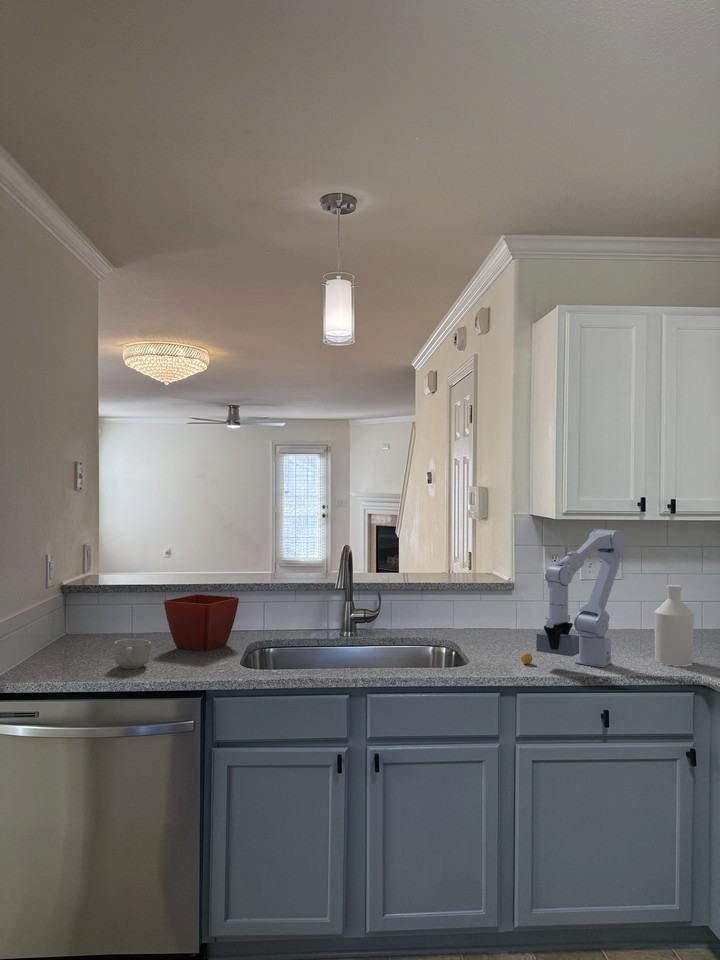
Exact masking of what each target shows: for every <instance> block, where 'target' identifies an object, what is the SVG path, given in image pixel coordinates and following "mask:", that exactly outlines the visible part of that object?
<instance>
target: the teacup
mask: <svg viewBox="0 0 720 960" xmlns="http://www.w3.org/2000/svg"><path fill="white" fill-rule="evenodd" d="M151 644H152V643H151V641H150V640H148V639H141V638H124V639H123V638H122V639H118V640H116V641H114V653H113V654H114V657H113V659H114V661H115V663H116V664H117V665H118V666H119V668H122V669H125V670H126V669H127V670H128V669H129V670H130V669H131V670H134V669H140V667H141V668H142V667H144V665H146V664H147V663H148V662H149V659H150V652H151Z"/></svg>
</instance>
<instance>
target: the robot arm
mask: <svg viewBox="0 0 720 960" xmlns="http://www.w3.org/2000/svg"><path fill="white" fill-rule="evenodd" d="M588 535H589V536H588V538H587V539H586V541H585V542H584V543H583V544H582V545H581V546H580V547H579V548H578V549H577V550H576V551H568V552H567V553H566V556H565V557H563V558H562V559H561V560H559V561H558V562H557V563H556V564H552V565H550V566H549V567H548V568H547V569H546V572H545V574H544V578H545V580H546V581H547V587H548V588H547V589H548V590H549V591H548V597H549V598H548V599H549V600H548V616H545V620H546V622H545V623H546V624H545V625H544V626H543V629H544V630H543V631H545V632H546V634H547V636H548V639H549V644H550V648H551V649H554V650H558V647H559V639H560V635H561V634H569V635H570V631H571V629H572V628H573V627H574V629H575V631H577V635H578V636H579V654H578V655H579V657H578V659H577V660H575V661H574V664H578V665H579V664H580V665H585V666H590V667H591V666H592V667H598V668H605V667H607V666H608V665H610V664H612V642H611V639H610V638H609V637H606V634H607V633H608V631H609V621H610V618H611V617H610V614H609V613H608V612H607V610H606V607H607V603H608V600H609V598H610V594H611V592H612V591H611V590H612V588H613V585H614V584H615V583H614V582H615V579H616V576H617V574H618V571H619V567H620V564H621V561H622V557H623V554H624V551H625V548H626V544H627V539H626V537H625V533H624V532H623V531H622V530H620V529H602V528H594V529H593V530H592V532H590V533H589V534H588ZM595 552H596V553H597V555H598V556H600V557H601V559H602V562H601V564H600V567H599V569H598V573H597V575H596V579H595V581H594V584H593V587H592V591H591V593H590V597H589V599H588V603H586V604H585V605H583V606H581V607H580V609H579V610H578V613H577V614H576V615H575V617H574V620H573V622H570V621H571V615H569V584H571V583H572V580H573V578H574V575H575V574H576V573H577V572H578V571H579V570H580V569H581V568H583V567H584V565H585V560H586V559H587V558H588V557H590V556H591V555H592V554H594V553H595Z"/></svg>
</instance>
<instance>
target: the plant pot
mask: <svg viewBox="0 0 720 960" xmlns="http://www.w3.org/2000/svg"><path fill="white" fill-rule="evenodd" d="M239 599H240V598H239V597H238V596H237V597H236V596H226V595H225V596H224V595H212V594H191V595H187V596H180V597H176V598H170V599H166V600H163V603H164V609H165V611H164V612H165V616H166V619H167V623H168V628H169V631H170V634H171V637H172V640H173V642H174V645H175V647H176V648H177V649H184V650H192V651H193V650H194V651H199V652H206V651H207V652H208V651H211V650H213V649H217V647H218V648H220V647H224V646H226V645H227V643H228V640H229V638H230V635H231V632H232V629H233V627H234V622H235V620H236V617H237V616H236V615H237V611H238V606H239Z"/></svg>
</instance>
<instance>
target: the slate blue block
mask: <svg viewBox="0 0 720 960" xmlns="http://www.w3.org/2000/svg"><path fill="white" fill-rule="evenodd" d="M535 646H536V648H535V649H536V652H539V653H547V654H551V655H552V654H553V655H560V656H565V657H566V656H567V657H574V656H577V655H579V635H576V634H575V635H574V634H570V633H569V634H561V635H560V639H559V647H558V650H554V649H551V648H550V644H549V639H548V636H547V634H546V632H545V630H543V631H541V632H538V633H536V645H535Z"/></svg>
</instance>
